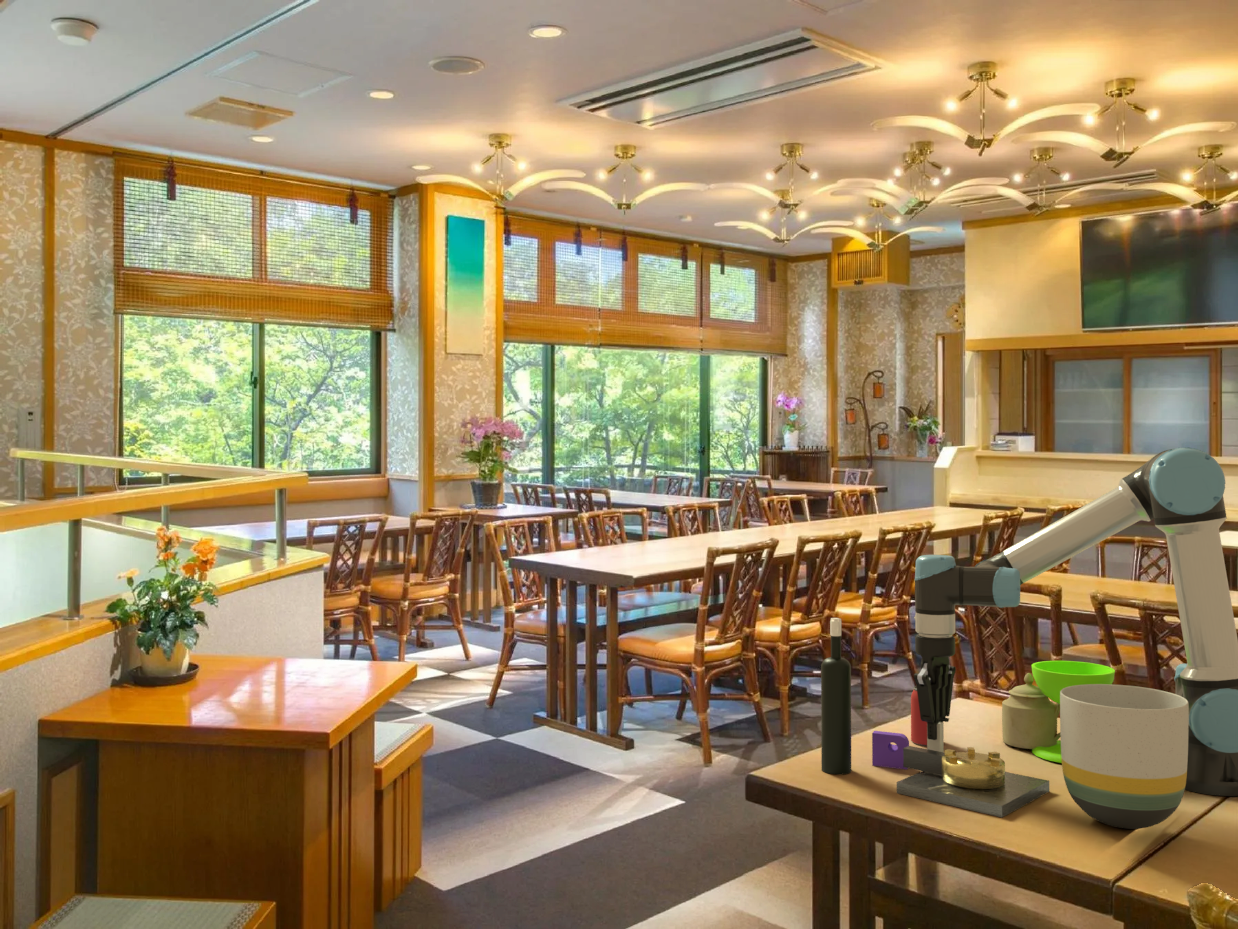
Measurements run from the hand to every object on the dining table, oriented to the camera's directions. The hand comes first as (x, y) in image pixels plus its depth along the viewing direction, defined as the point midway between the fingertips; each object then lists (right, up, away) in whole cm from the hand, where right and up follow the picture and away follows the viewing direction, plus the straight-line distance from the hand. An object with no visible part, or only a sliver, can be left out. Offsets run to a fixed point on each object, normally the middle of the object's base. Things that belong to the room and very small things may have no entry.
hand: (935, 755), depth 210 cm
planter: (+23, -4, -30) cm, 38 cm away
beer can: (+5, -4, +22) cm, 23 cm away
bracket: (-5, -4, +9) cm, 11 cm away
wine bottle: (-19, -4, +2) cm, 19 cm away
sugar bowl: (+28, -3, +20) cm, 34 cm away
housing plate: (+3, -4, -13) cm, 13 cm away
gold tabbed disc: (0, -1, -10) cm, 10 cm away
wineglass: (+32, -4, +13) cm, 35 cm away
